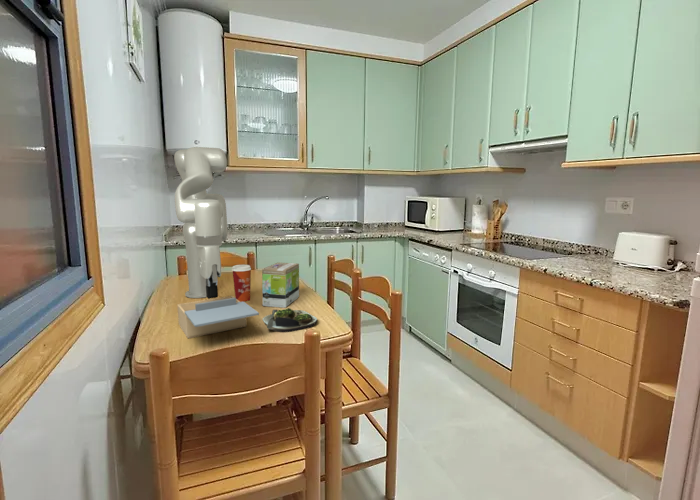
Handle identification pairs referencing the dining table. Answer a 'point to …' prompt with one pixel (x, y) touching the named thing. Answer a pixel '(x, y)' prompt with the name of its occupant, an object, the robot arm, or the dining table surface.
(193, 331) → the box
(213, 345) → the dining table surface
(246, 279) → the paper cup
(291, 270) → the tea box
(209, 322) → the lid
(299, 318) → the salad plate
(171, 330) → the dining table surface
